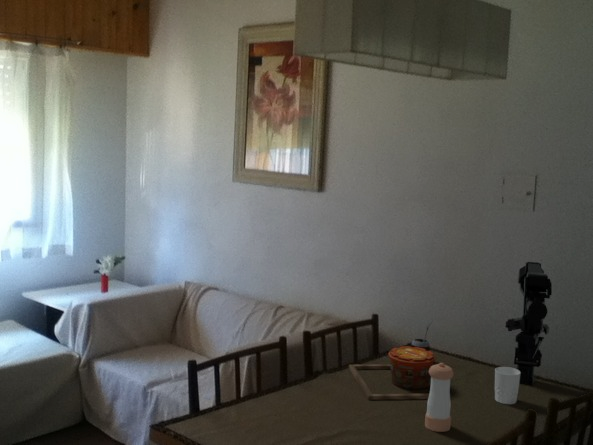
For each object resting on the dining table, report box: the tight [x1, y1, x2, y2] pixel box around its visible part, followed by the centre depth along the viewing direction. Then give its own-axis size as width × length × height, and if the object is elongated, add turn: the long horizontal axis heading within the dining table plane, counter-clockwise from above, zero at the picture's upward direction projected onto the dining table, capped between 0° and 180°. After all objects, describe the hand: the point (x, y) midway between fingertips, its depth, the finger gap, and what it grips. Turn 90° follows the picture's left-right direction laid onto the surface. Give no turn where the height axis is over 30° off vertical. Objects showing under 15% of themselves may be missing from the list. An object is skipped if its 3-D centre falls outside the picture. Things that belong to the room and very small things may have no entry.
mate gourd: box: [410, 320, 433, 351], centre depth 262 cm, size 8×8×15 cm
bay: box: [348, 363, 430, 401], centre depth 239 cm, size 26×30×1 cm
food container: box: [388, 345, 437, 390], centre depth 238 cm, size 16×16×11 cm
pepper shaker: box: [424, 362, 455, 433], centre depth 203 cm, size 7×7×19 cm
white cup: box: [494, 366, 521, 405], centre depth 226 cm, size 8×8×10 cm
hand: (530, 358), depth 228 cm, fingers closed
